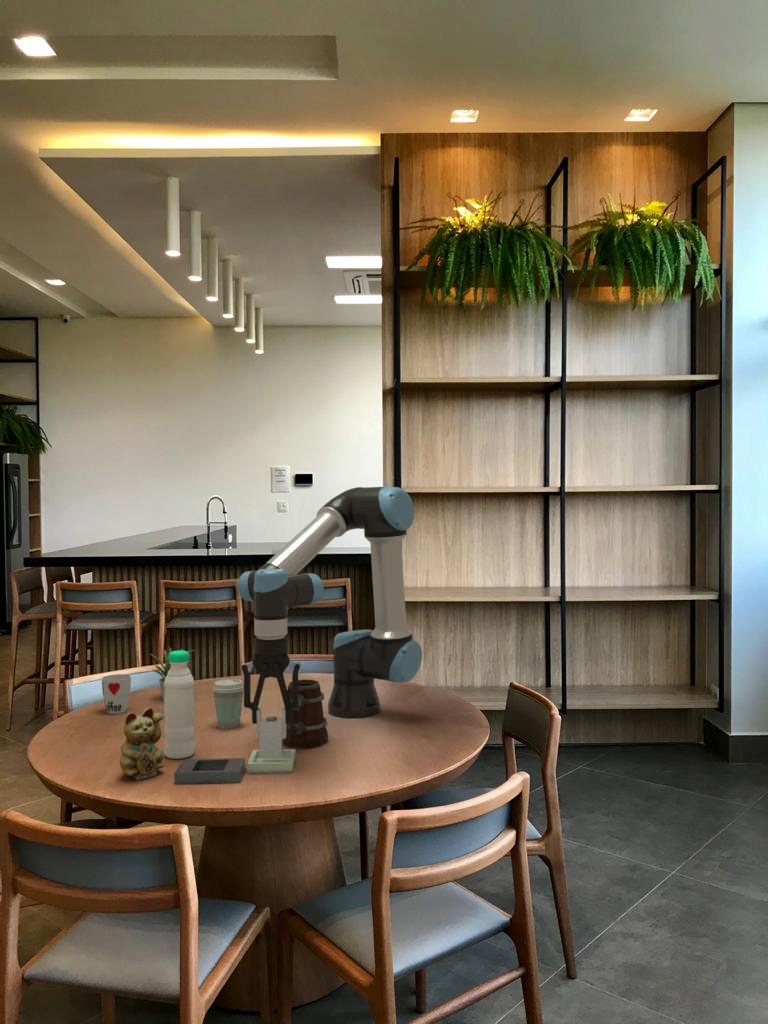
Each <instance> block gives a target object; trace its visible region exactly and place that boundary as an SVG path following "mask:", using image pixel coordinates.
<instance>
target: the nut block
mask: <svg viewBox="0 0 768 1024" xmlns="http://www.w3.org/2000/svg"><path fill="white" fill-rule="evenodd" d="M259 731H260V739H259V750H260V757H282V755H283V751H284V749H285V747H284V746H285V745H284V739H282V715H261V720H260V722H259Z"/></svg>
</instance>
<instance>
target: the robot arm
mask: <svg viewBox="0 0 768 1024" xmlns="http://www.w3.org/2000/svg"><path fill="white" fill-rule="evenodd" d="M414 519H415V508H414V503H413V501H412V498H411V497H410V495H409V494H408V492H407V491H406V490H404V489H403V488H401V487H399V486H398V487H397V486H387V485H386V486H370V487H368V486H367V487H366V486H365V487H362V486H359V487H358V486H357V487H353V488H349V489H347V490H345V491H343V492H341V493H339V494H338V495H336V496H334V497H333V498H331V499H330V500H329V501H328V502H326V503H325V504H324V505H323V506H322V507H320V508H319V509H318V511H317V512H316V517H315V518H314V519H313V520H311V522H309V523H308V524H307V525H306V526H305V527H304V528H303V529H301V530H300V532H299V533H297V534H296V535H295V536H294V537H293V538H292V539H291V540H290V541H289V542H287V543H286V544H285V545H284V546H283V547H282V548H281V549H279V551H277V553H275V554H274V555H273V556H272V557H271V558H270V559H269V560H268V561H266V563H265V564H263V565H262V566H260V568H259V569H258V570H251V571H250V570H249V571H245V572H243V573H242V574H241V575H240V577H239V578H238V580H237V591H238V592H237V593H238V595H239V596H240V597H241V598H242V599H243V600H245V601H249V602H253V605H254V608H253V609H254V610H253V611H254V615H253V616H254V617H253V621H254V622H253V623H254V631H253V633H254V636H256V637H255V638H254V657H253V660H251V661H250V662H244V663H243V664H242V666H241V671H242V673H243V685H244V690H243V707H244V708H246V709H250V710H251V722H252V725H256V740H260V731H259V722H260V720H261V717H262V707H259V705H260V701H261V696H262V693H263V688H264V685H265V681H266V678H267V679H269V678H274V679H275V678H276V681H277V683H278V687H279V690H280V695H281V698H282V702H283V704H284V707H282V709H281V716H282V739H286V723H290V721H291V709H292V708H293V707H297V706H298V703H299V686H298V680H299V671H300V668H301V662H299V661H297V662H295V661H292V660H291V659H290V657H289V655H288V653H289V651H288V648H289V646H288V637H287V635H288V609H290V608H297V607H303V606H310V605H314V604H317V603H318V602H320V600H321V599H322V598H323V596H324V592H325V590H324V588H325V587H324V583H323V580H322V578H320V576H319V575H317V574H315V573H306V572H305V573H301V574H299V572H301V570H303V568H305V567H306V566H307V565H308V564H309V563H310V562H311V561H312V560H313V559H315V557H316V556H318V554H319V553H320V552H322V551H323V550H324V549H325V548H326V547H327V546H328V545H329V544H330V543H331V542H332V541H333V540H334V539H335V538H339V537H343V535H344V534H345V533H347V532H348V531H351V530H357V529H358V530H359V529H360V530H363V533H364V538H365V539H366V540H367V541H368V542H369V543H370V556H371V571H372V572H371V575H372V576H371V577H372V588H373V589H372V590H373V607H374V623H375V625H374V626H375V628H374V629H373V630H372V629H357V630H350V631H348V630H347V631H344V632H339V633H337V634H336V635H335V636H334V637H333V647H332V650H333V651H332V652H333V655H332V656H333V686H332V689H331V694H330V697H329V699H328V703H327V712H328V713H329V714H330V715H331V716H332V715H333V716H336V717H340V718H366V717H370V716H375V715H377V714H379V713H380V712H381V701H380V698H379V694H378V692H377V688H376V685H375V680H382V681H386V682H387V681H388V682H391V683H404V684H405V683H407V682H410V681H411V680H413V679H414V677H416V676H417V674H418V672H419V670H420V668H421V666H422V665H421V663H422V660H423V651H422V646H421V645H420V643H419V642H417V641H416V640H413V631H412V630H411V629H410V628H409V627H408V626H407V613H406V599H405V596H406V595H405V581H404V580H405V579H404V565H403V564H404V562H403V545H402V542H403V539H404V538H405V537H406V536H407V530H408V529H410V528H411V527H412V525H413V520H414ZM253 667H254V668H255V670H256V671H257V673H259V677H258V681H257V686H256V690H255V692H254V693H255V694H254V697H253V701H252V700H251V691H252V690H251V682H252V681H251V680H252V679H251V676H252V675H251V674H252V673H251V672H253ZM288 667H289V669H290V672H292V676H291V679H292V681H291V682H292V688H293V701H291V702H290V698H289V695H288V691H287V690H288V686H287V684H286V681H285V675H284V672H285V670H286V669H287V668H288Z"/></svg>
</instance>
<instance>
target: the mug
mask: <svg viewBox="0 0 768 1024" xmlns="http://www.w3.org/2000/svg"><path fill="white" fill-rule="evenodd" d="M298 686H299V703H298V706H297V707H293V708H292V709H291V721H290V723H286V739H284V746H286V747H289V748H290V749H309V748H311V749H312V748H315V747H316V748H317V747H320V746H322V745H324V744H327V743H328V742H329V733H328V730H327V727H326V726H327V725H328V718H327V717H325V716H324V708H323V700H325V694H324V692H322V690H321V685H320V682H319V681H318V680H316V679H315V680H314V679H305V678H304V679H303V678H302V679H298ZM287 691H288V695H289V698H290V702H291V701H293V688H292V681H290V682H288V685H287Z"/></svg>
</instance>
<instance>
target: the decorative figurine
mask: <svg viewBox="0 0 768 1024" xmlns="http://www.w3.org/2000/svg"><path fill="white" fill-rule="evenodd" d="M163 719H165V715H163V714H162V713H160V712H155V713H154V710H153V708H151V707H147V708H145V709H144V710H143V711H142V713H141V714H140V715H137V714H136V713H134V712H129V713H127V715H126V717H125V721H124V724H123V734H124V735H125V738H126V740H125V741H124V742H123V743H122V745H121V747H120V752H121V755H120V758H119V766H120V768H121V771H122V773H123V774H124V775H127V776H129V777H132V779H135V780H136V781H139V780H145V779H147V778H151V777H155V776H157V775H158V771H157V770H159V769H162V768H164V767H165V763H164V762H163V759H164V757H165V753H164V751H163V750H162V749H161V748H159V747H156V744H157V743H158V742H159V740H160V739H161V737H162V727H161V724H160V721H162V720H163Z"/></svg>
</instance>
